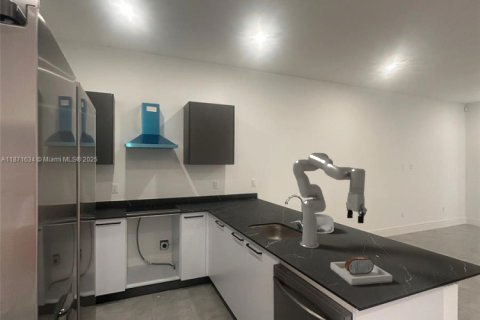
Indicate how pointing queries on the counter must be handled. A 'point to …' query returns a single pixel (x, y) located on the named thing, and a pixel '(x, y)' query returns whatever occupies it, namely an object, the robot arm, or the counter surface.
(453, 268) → the counter surface
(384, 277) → the white tray
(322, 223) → the bowl
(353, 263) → the tin
